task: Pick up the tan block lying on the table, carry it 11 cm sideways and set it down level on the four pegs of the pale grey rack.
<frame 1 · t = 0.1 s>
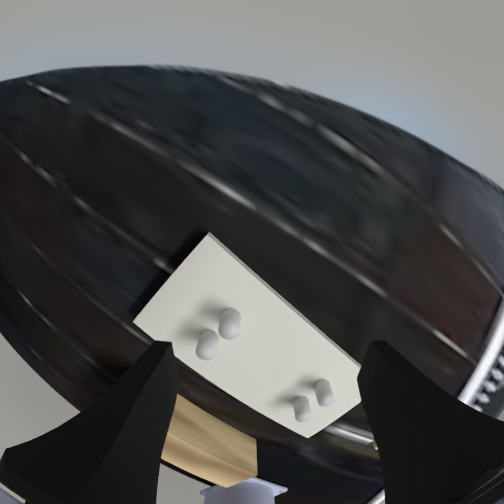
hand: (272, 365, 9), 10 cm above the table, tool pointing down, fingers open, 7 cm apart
tan block: (188, 417, 23), on the table
peg rack: (268, 357, 21), on the table
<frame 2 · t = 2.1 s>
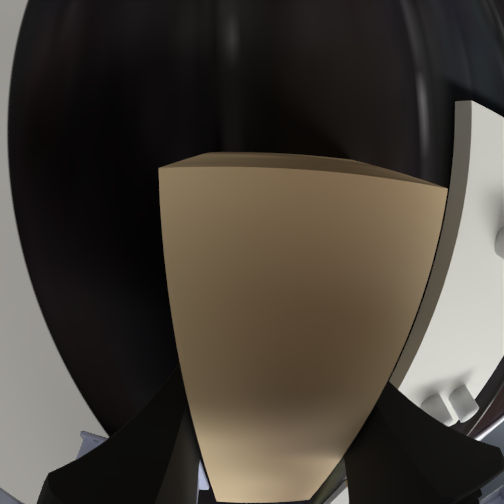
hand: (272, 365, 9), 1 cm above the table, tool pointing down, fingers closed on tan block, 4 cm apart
tan block: (270, 338, 11), on the table, touching gripper
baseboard: (348, 501, 25), on the table
peg rack: (472, 322, 11), on the table
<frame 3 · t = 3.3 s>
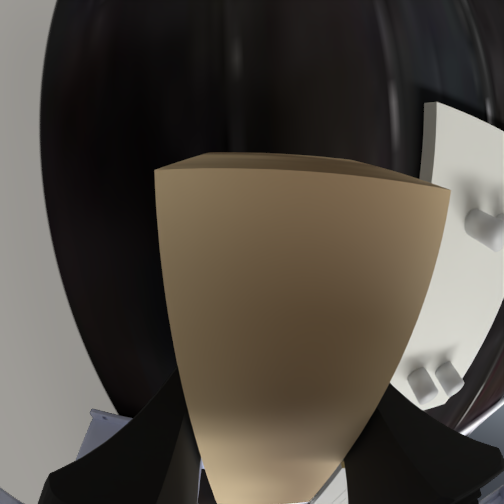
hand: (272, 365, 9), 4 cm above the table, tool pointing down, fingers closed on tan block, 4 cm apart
tan block: (270, 340, 11), point 2 cm above the table, touching gripper
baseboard: (345, 488, 27), on the table
peg rack: (452, 300, 13), on the table
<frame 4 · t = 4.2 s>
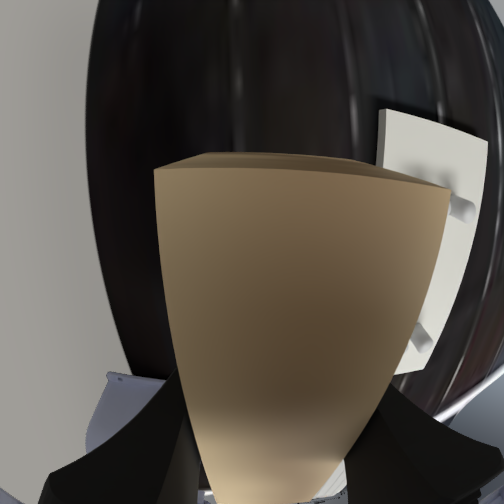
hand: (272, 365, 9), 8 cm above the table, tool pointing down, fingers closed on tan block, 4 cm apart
tan block: (269, 340, 11), point 7 cm above the table, touching gripper
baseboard: (339, 465, 31), on the table
peg rack: (415, 267, 17), on the table
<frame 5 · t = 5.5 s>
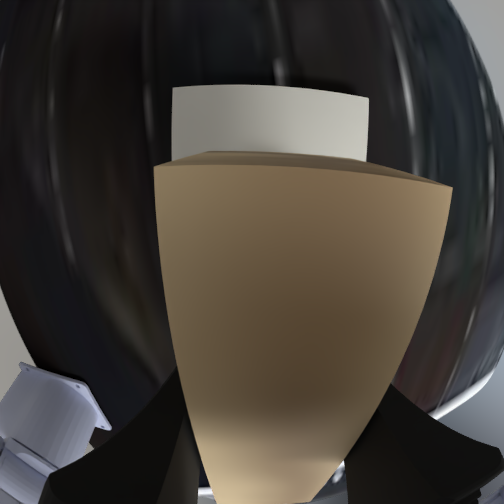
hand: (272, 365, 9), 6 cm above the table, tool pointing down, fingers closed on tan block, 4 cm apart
tan block: (270, 339, 11), point 5 cm above the table, touching gripper
peg rack: (264, 280, 15), on the table
when the fingers open (6 cm above the table, at t = 6.5 s): tan block drops 1 cm, resting on peg rack.
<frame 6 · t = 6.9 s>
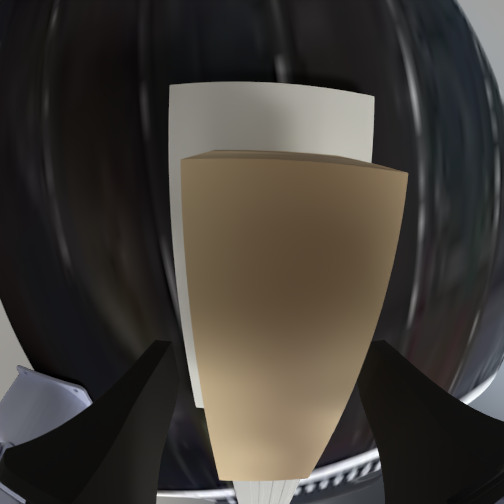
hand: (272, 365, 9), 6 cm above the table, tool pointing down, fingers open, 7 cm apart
tan block: (268, 318, 12), point 3 cm above the table, touching peg rack
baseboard: (270, 485, 29), on the table
peg rack: (265, 285, 15), on the table
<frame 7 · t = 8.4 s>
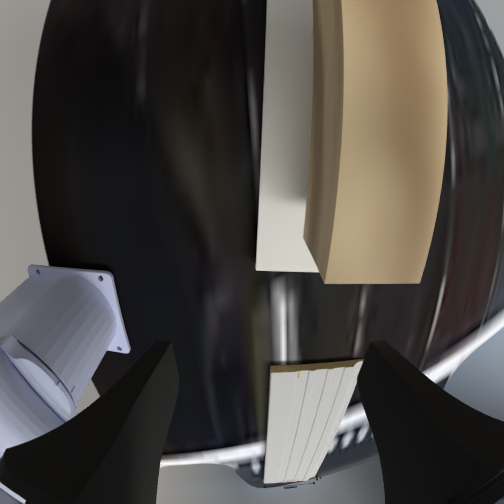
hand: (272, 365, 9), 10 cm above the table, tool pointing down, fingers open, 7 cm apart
tan block: (353, 110, 12), point 3 cm above the table, touching peg rack
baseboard: (304, 436, 29), on the table
peg rack: (336, 115, 15), on the table
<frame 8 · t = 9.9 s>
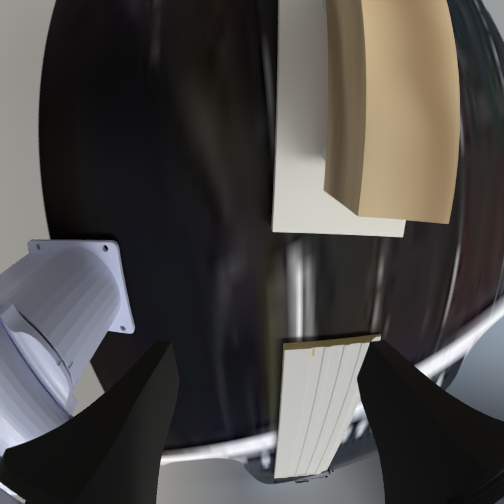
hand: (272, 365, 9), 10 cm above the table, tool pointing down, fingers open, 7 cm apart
tan block: (367, 68, 11), point 3 cm above the table, touching peg rack
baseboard: (318, 424, 28), on the table
peg rack: (348, 78, 14), on the table
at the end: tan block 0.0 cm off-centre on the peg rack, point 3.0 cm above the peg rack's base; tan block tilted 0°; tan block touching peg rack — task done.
